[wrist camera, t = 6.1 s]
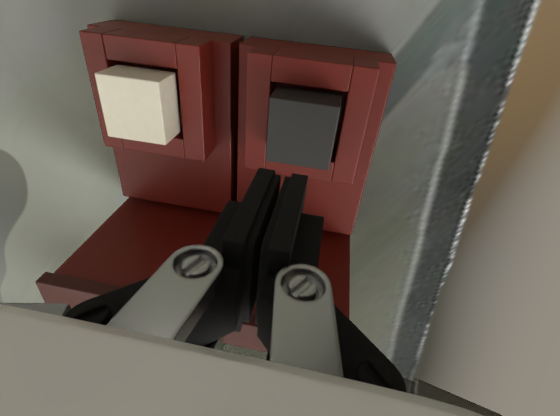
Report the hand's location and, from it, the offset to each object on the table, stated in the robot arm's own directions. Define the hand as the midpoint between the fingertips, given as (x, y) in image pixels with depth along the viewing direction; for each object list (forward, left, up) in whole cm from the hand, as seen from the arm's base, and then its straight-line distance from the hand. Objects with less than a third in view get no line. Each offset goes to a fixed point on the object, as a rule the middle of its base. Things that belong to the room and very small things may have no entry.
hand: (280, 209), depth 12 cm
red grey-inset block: (+2, 0, -12) cm, 12 cm away
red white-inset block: (+2, -8, -12) cm, 14 cm away
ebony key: (0, 0, -7) cm, 7 cm away
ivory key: (0, -8, -7) cm, 11 cm away
